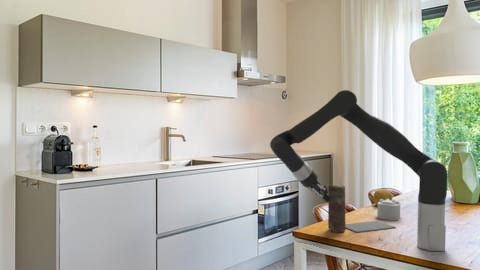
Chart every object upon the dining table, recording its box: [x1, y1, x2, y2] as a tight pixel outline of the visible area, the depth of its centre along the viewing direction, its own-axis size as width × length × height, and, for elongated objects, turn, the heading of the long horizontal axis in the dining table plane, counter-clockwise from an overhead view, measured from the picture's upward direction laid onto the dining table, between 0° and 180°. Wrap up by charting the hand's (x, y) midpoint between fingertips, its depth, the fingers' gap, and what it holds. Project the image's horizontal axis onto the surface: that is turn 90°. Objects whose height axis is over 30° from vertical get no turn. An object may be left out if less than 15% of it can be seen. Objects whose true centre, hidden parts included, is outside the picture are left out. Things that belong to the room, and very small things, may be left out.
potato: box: [372, 188, 393, 207], centre depth 222 cm, size 10×12×10 cm
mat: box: [345, 220, 397, 233], centre depth 174 cm, size 22×12×1 cm, turn 112°
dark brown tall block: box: [327, 184, 346, 233], centre depth 167 cm, size 8×7×20 cm
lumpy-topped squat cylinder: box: [376, 198, 401, 221], centre depth 195 cm, size 10×13×9 cm
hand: (328, 200), depth 165 cm, fingers closed
